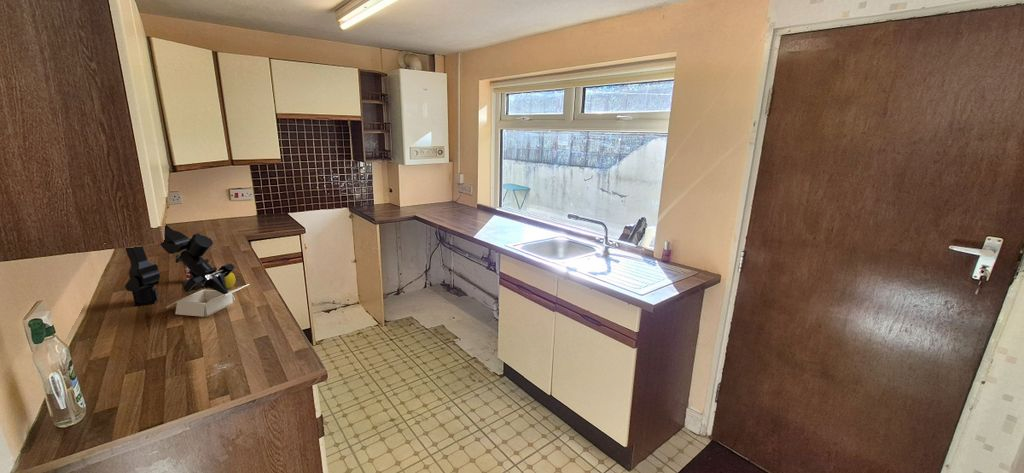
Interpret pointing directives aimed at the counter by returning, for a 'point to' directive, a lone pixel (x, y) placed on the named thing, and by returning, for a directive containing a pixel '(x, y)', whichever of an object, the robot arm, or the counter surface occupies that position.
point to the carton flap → (228, 293)
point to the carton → (202, 303)
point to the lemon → (230, 280)
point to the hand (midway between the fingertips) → (226, 293)
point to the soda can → (187, 272)
